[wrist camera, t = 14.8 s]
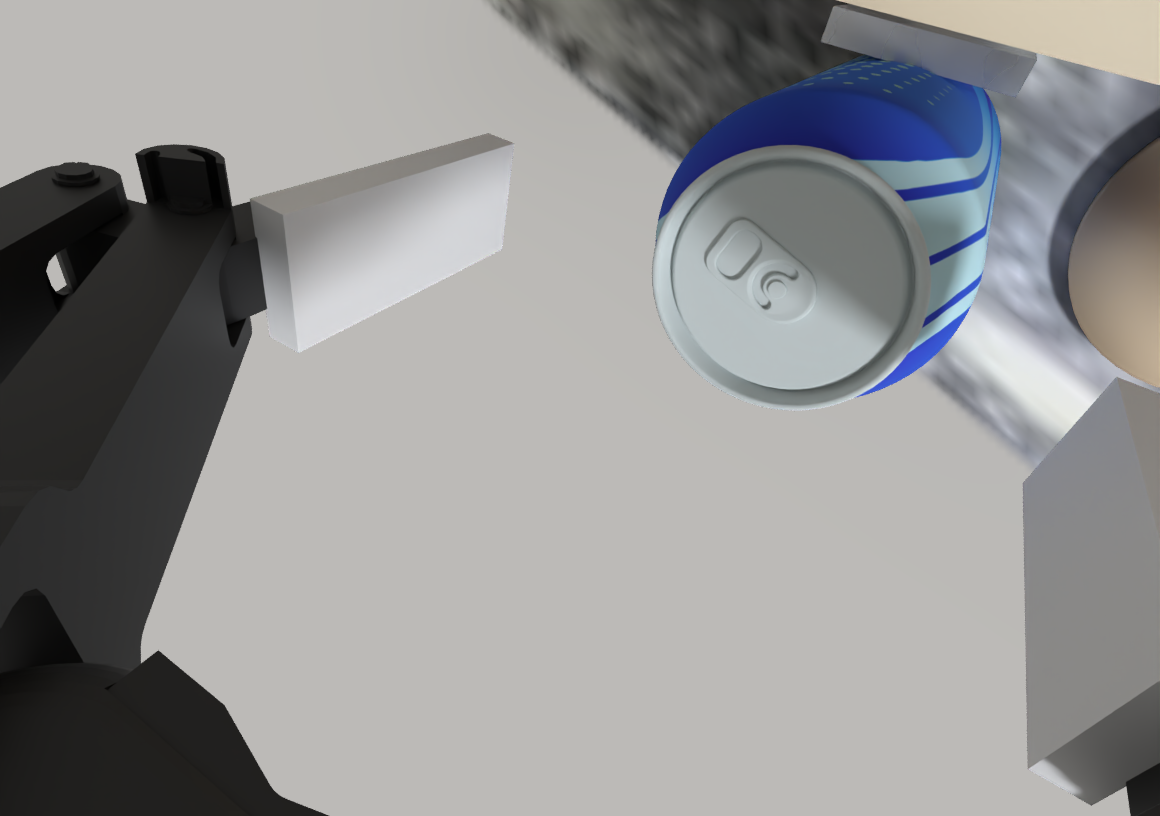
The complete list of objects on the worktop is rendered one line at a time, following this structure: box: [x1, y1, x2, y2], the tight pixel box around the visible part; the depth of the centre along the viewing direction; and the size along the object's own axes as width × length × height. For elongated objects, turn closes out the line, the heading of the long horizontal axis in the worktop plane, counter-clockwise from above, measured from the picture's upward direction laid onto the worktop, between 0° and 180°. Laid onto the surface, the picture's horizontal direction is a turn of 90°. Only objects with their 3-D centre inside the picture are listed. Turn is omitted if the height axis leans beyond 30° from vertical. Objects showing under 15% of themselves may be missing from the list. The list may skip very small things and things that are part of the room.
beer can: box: [652, 55, 1001, 410], centre depth 21 cm, size 8×8×16 cm
